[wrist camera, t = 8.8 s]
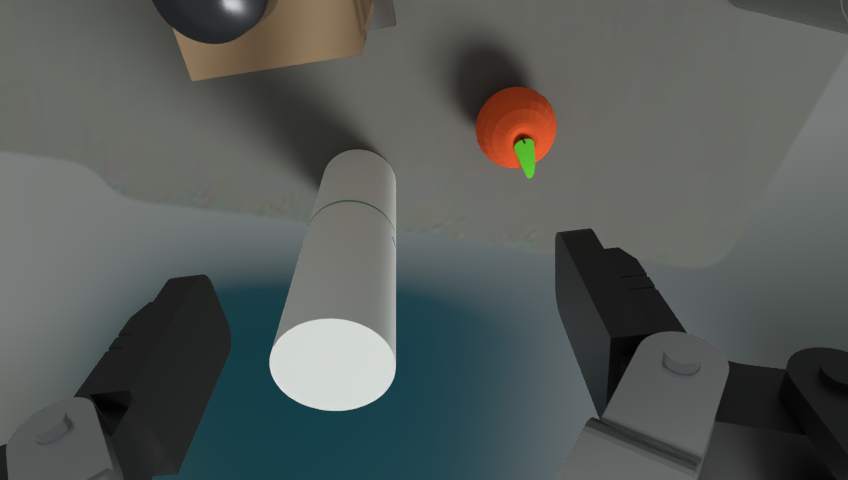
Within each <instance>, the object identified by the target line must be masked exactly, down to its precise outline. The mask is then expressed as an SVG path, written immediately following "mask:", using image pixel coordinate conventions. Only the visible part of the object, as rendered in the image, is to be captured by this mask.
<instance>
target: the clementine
mask: <svg viewBox="0 0 848 480" xmlns="http://www.w3.org/2000/svg"><path fill="white" fill-rule="evenodd" d="M556 130H557V125H556V117H555V114H554V112H553V109H552V106H551V105H550V103H549V102H548V101H547V99H546V98H545V97H543V96H542V95H541V94H539V93H538V92H536V91H534V90H531V89H528V88H525V87H511V88H506V89H503V90H501V91H499V92H497V93H495V94H494V95H493V96H491V97H490V98H489V99H488V100H487V101H486V102H485V104H484V105H483V106H482V108H481V110H480V112H479V115H478V117H477V123H476V135H477V141H478V143H479V146H480V148H481V150H482V151H483V152H484V153H485V154H486V156H487V157H488V158H489V159H490V160H491V161H493V162H494V163H496V164H498V165H500V166H504V167H507V168H521V167H522V168H523V170H524V172H525V174H526V176H527V177H528V179H529V178H532V176H533V174H534V169H535V163H536V162H537V161H539V160H540V159H541V158H542V157H544V155H545V154H546V153H547V152H548V151H549V149H550V147H551V145H552V143H553V141H554V139H555V135H556Z"/></svg>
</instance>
